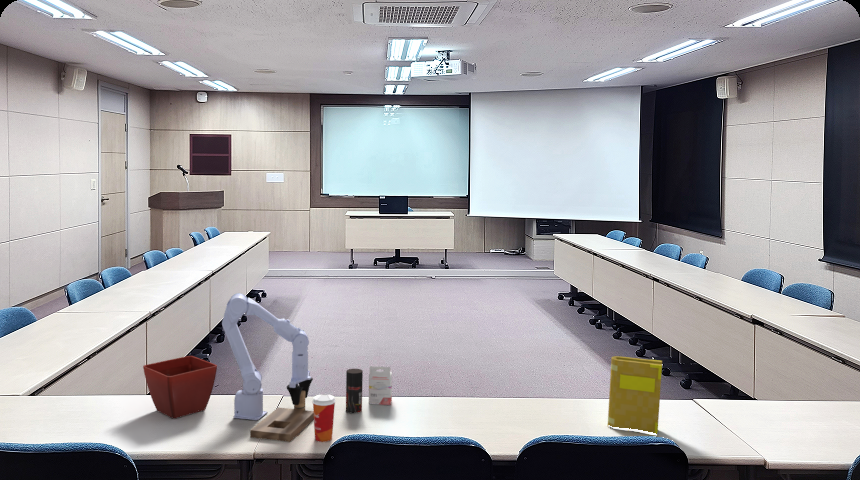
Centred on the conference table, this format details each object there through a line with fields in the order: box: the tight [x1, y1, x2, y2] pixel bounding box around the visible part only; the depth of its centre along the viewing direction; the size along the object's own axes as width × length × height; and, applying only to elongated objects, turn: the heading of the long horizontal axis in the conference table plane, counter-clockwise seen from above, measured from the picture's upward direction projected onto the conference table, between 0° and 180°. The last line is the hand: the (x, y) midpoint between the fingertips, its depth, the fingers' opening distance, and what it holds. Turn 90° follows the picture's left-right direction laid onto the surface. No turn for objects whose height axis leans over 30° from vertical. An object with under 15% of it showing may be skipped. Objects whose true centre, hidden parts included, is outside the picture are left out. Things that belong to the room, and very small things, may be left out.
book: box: [607, 355, 663, 434], centre depth 237 cm, size 17×7×25 cm, turn 71°
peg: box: [293, 390, 306, 410], centre depth 244 cm, size 4×4×8 cm
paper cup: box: [311, 394, 337, 443], centre depth 221 cm, size 8×8×14 cm
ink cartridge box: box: [368, 365, 393, 406], centre depth 257 cm, size 9×5×15 cm, turn 87°
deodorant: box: [345, 368, 364, 414], centre depth 248 cm, size 6×6×15 cm
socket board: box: [249, 407, 314, 443], centre depth 230 cm, size 14×22×2 cm, turn 169°
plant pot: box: [142, 355, 218, 419], centre depth 243 cm, size 19×19×17 cm
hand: (299, 401), depth 244 cm, fingers open, 7 cm apart
